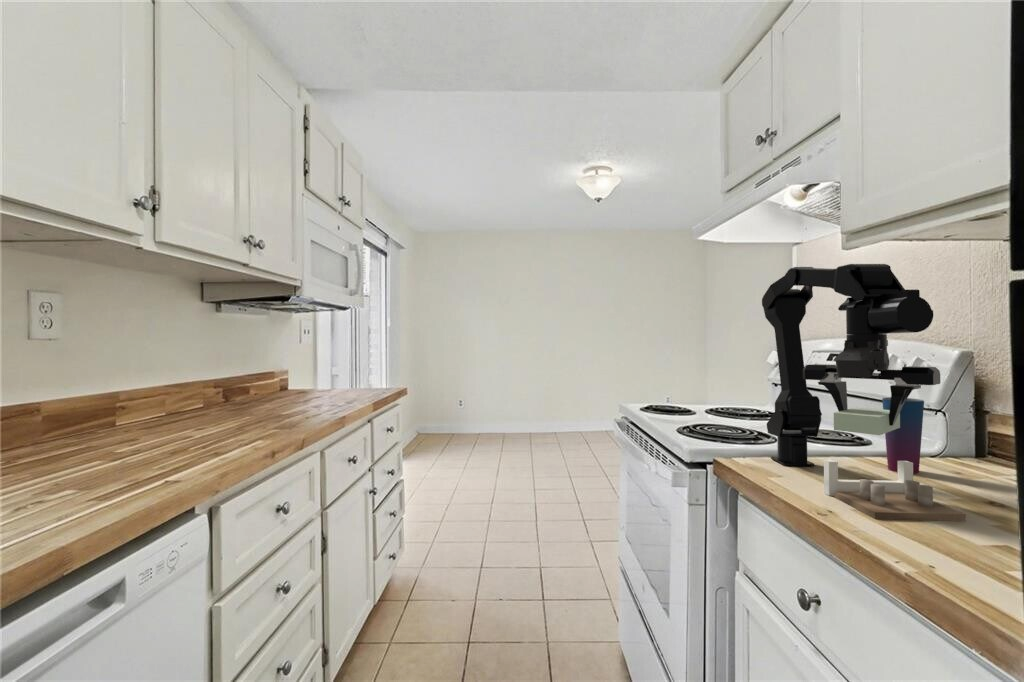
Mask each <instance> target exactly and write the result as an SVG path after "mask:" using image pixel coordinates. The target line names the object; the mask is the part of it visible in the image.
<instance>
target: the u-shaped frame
mask: <svg viewBox="0 0 1024 682" xmlns="http://www.w3.org/2000/svg"><path fill="white" fill-rule="evenodd" d="M870 480H871V481H873V484H879V485H883V486H885V493H905V480H913V481H914V474H913V463H912V462H908V461H898V472H897V480H879V479H877V480H875V479H874V480H873V479H870ZM835 492H860V479H839V462H838V461H836V460H834V459H823V494H825V495H827V496H829V497H835Z"/></svg>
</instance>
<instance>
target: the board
mask: <svg viewBox="0 0 1024 682" xmlns="http://www.w3.org/2000/svg"><path fill="white" fill-rule="evenodd" d="M889 412H890V410H884V409H883V408H881V409H880V408H869V407H858V406H857V407H852V408H848V409H847V410H843V411H835V412H833V431H839V432H848V433H856V434H866V435H872V436H883V435H885V433H887V432H890V431H893V430H895V429H898V428H900V413H899V415H898V417H897V420H896V422H895V424H894V425H893V426H890V424H889Z"/></svg>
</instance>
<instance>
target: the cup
mask: <svg viewBox="0 0 1024 682" xmlns="http://www.w3.org/2000/svg"><path fill="white" fill-rule="evenodd" d="M881 400H882V409H884V410H890V403H891V396H890V397H882V399H881ZM924 408H925V400H924V399H920V398H912V397H908V398H907V399H906V401H905V402H904V404H903V406H902V409H901V411H900V428H898V429H895V430H893V431H890V432H887V433H885V434H884V437H885V449H886V450H885V451H886V459H887V460H886V462H887V469H888V470H890V471H892V472H897V473H898V461H908V462H912V463H913V475H914V474H915V475H916V474H919V473H920V460H921V448H922V435H923V424H924V423H923V422H924V421H923V420H924Z"/></svg>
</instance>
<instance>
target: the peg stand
mask: <svg viewBox="0 0 1024 682" xmlns="http://www.w3.org/2000/svg"><path fill="white" fill-rule="evenodd" d="M859 480H860V492H835V496H834V498H835V499H836V500H839V501H841V502H842V503H845V504H847V505H848V506H850V507H852V508H854V509H856V510H858V511H860V512H861V513H863V514H865V515H867V516H869V517H871V518H873V519H875V520H908V521H909V520H914V521H915V520H917V521H920V520H921V521H955V522H956V521H957V522H958V521H960V522H966V521H967V520H966V518H967V516H966V513H963V512H961V511H958V510H956V509H954V508H951V507H949V506H946V505H944V504H942V503H939V502H936V501H934V489H933V488H934V487H933V486H930V485H926V484H921V483H920V482H919V481H917V480H914V479H913V480H905V493H885V486H883V485H879V484H873V481H871V480H872V479H865V478H861V479H859ZM963 520H964V521H963ZM965 520H966V521H965Z"/></svg>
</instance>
